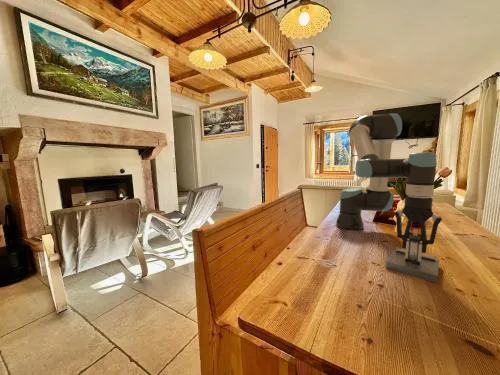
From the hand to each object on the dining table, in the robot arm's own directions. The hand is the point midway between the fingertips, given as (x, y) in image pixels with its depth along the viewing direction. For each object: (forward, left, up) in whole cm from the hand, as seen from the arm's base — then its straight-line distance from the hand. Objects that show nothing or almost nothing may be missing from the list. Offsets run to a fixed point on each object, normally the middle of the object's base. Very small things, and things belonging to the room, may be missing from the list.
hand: (413, 258), depth 74 cm
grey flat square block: (0, 0, -3) cm, 3 cm away
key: (0, 0, -3) cm, 3 cm away
